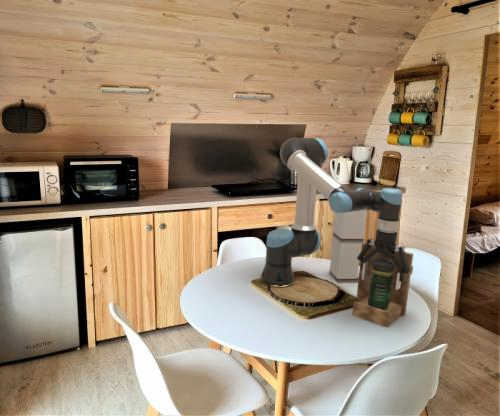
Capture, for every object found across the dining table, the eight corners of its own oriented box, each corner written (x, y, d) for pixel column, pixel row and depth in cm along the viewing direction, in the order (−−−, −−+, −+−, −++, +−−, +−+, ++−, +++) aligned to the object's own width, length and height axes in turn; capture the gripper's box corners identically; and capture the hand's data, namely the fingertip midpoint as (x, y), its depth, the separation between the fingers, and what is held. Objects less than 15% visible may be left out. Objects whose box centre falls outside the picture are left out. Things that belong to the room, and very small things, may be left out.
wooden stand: (340, 311, 173) (346, 250, 167) (360, 298, 186) (366, 241, 180) (389, 328, 160) (397, 263, 155) (407, 313, 173) (414, 252, 168)
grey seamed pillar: (359, 282, 203) (366, 208, 195) (337, 283, 201) (344, 208, 194) (350, 273, 214) (357, 203, 207) (329, 274, 212) (335, 203, 205)
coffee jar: (388, 312, 164) (394, 265, 160) (366, 308, 167) (372, 261, 163) (389, 301, 173) (394, 257, 169) (368, 298, 176) (373, 254, 172)
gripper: (351, 225, 169) (346, 276, 173) (417, 239, 153) (409, 296, 158) (360, 221, 174) (355, 272, 179) (424, 235, 159) (416, 290, 164)
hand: (380, 283), depth 168 cm, fingers open, 13 cm apart
